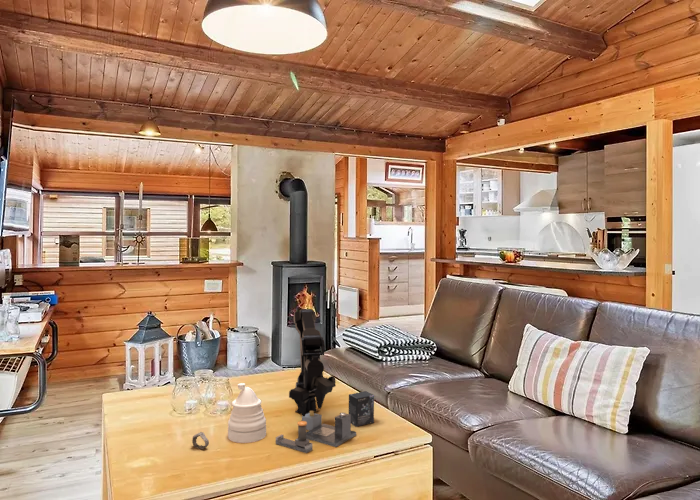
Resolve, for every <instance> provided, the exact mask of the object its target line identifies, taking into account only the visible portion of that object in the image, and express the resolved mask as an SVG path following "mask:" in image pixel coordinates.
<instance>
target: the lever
mask: <svg viewBox="0 0 700 500" xmlns="http://www.w3.org/2000/svg"><path fill="white" fill-rule="evenodd" d="M306 425H307V422H306V421H302V420H299V421H297V438H296V439H294V441H295V445H298V446H301V447H305V445H307V444H309V443H310V440H309V439H306V432H307V430H306Z"/></svg>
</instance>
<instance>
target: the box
mask: <svg viewBox="0 0 700 500" xmlns="http://www.w3.org/2000/svg"><path fill="white" fill-rule="evenodd" d="M348 414H350V415H351V426H354V427H355V428H357V427H361V426H366V425H369V424H370V425H371V424H374V423H375V421H374V420H375V395H374V394H373V393H372V392H368V391H366V390H365V391H359V392H355V393H354V392H353V393H350V394H348Z"/></svg>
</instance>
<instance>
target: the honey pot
mask: <svg viewBox="0 0 700 500" xmlns="http://www.w3.org/2000/svg"><path fill="white" fill-rule="evenodd" d="M237 388H238V389H239V390H240V392H239V394H238V395H237V396H236V398H235V399H234V400H232V401H231V406H232V410H231V411H230V415H229V419H228V422H227V439H228V440H230V442H232V443H238V444H248V443H255V442H259V441H261V440H263V439H265V437H266V436H267V419H266V417H265V413H264V409H263V407H262V400H261V399H260V398H258V395H257V394H256V392H255V391H254V390H253V389H252V388H251V387H249V386H246V383H244V382H240V383H238V384H237Z"/></svg>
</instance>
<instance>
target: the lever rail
mask: <svg viewBox="0 0 700 500" xmlns="http://www.w3.org/2000/svg"><path fill="white" fill-rule="evenodd" d="M284 437H285V436H284V434H279V435H278V436H277V435H276V437H275V444H276V445H279V446H281V447H285V448H288V449H291V450H294V451H298V452H302V453H304V454H308V453H309V452H311V451H313V443H312V442H309V444H307V445H305V447H301V446H298V445H295V440H292V439H289V438H284Z"/></svg>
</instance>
